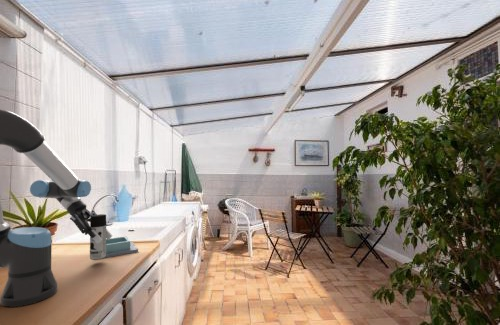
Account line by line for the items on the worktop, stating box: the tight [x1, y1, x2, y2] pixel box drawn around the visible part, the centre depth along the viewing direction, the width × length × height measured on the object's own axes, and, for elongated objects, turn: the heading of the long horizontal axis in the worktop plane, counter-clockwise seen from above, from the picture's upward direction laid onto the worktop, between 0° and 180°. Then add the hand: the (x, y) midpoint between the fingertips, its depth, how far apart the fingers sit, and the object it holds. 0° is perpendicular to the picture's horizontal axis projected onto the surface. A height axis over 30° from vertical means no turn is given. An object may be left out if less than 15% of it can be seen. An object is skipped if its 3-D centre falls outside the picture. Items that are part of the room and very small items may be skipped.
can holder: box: [104, 235, 139, 259], centre depth 143 cm, size 20×20×6 cm
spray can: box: [89, 214, 107, 261], centre depth 125 cm, size 7×7×20 cm
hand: (105, 239), depth 124 cm, fingers closed on spray can, 7 cm apart
